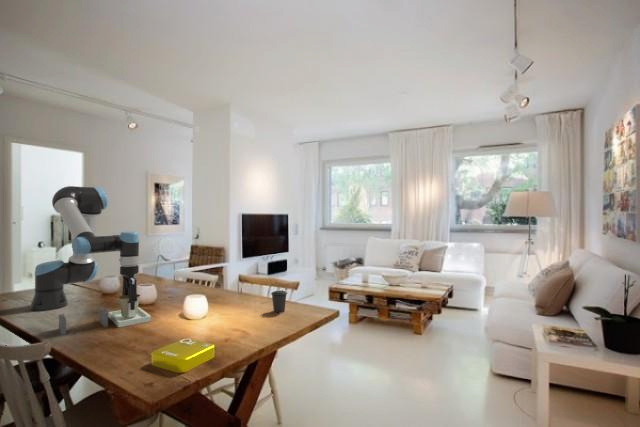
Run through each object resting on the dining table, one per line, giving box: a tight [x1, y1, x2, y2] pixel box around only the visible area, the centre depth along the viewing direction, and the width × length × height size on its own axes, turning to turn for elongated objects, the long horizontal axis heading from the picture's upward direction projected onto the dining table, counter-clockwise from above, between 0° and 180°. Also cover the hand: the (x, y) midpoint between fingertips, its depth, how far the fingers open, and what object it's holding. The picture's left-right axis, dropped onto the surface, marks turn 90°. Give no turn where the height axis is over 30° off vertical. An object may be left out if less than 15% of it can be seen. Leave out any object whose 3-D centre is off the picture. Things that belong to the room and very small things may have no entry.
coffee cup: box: [270, 290, 288, 314], centre depth 170 cm, size 8×8×10 cm
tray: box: [108, 306, 152, 328], centre depth 157 cm, size 20×13×2 cm, turn 42°
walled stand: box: [58, 307, 109, 336], centre depth 146 cm, size 10×16×6 cm, turn 132°
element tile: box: [151, 337, 216, 374], centre depth 114 cm, size 15×15×5 cm
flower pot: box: [117, 293, 142, 317], centre depth 157 cm, size 9×9×9 cm
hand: (129, 314), depth 157 cm, fingers closed on flower pot, 8 cm apart
